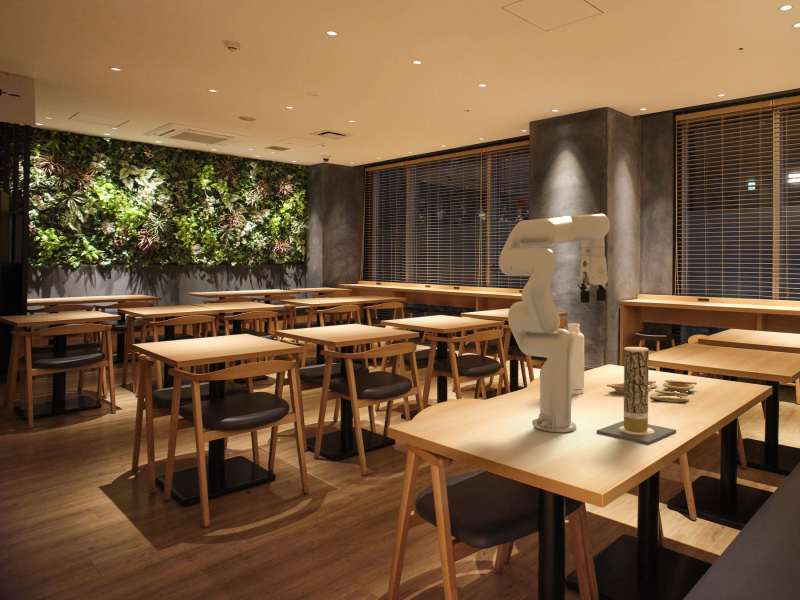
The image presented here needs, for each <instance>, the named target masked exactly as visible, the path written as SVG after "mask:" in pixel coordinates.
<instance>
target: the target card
mask: <svg viewBox="0 0 800 600" xmlns="http://www.w3.org/2000/svg"><path fill="white" fill-rule="evenodd" d="M599 433H600V434H601V435H605V436H608V437H612V436H613V438H617V439H621V438H622V440H627V441H630V440H631V442H634V441H635V442H636V443H640V444H644V445H651V444H653V443H655V442H657V441H658V442H659V440H663V439H664V438H667V437H669V436H671V435H673V434H676V433H677V429H674V428H668V427H666V426H665V427H664V426H660V425H653V424H649V423H648V429H647V431H645V432H632V431H628V430H626V429H625V428H624V420H621V421H619V422H616V423H613V424H611V425H608V426H605V427H602V428H599V429H597V430H596V434H599ZM600 434H599V435H600Z"/></svg>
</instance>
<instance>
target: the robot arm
mask: <svg viewBox="0 0 800 600" xmlns="http://www.w3.org/2000/svg"><path fill="white" fill-rule="evenodd" d="M610 228H611V222H610V219H609V217H608V216H607V215H606V214H604V213H594V214H593V213H592V214H583V215H582V214H581V215H580V214H579V215H563V216H556V217H549V218H548V217H547V218H538V219H527V220H526V219H525V220H521V221H519V222H517V224H515V226H514V227H513V228H512V230H511V232H510V234H509V236H508V238H507V240H506V242H505V243H504V246H503V248H502V250H501V252H500V254H499V258H498V259H499V260H498V266H499V269H500V271H501V272H502V274H504V275H506V276H509V277H521V276H522V277H524V276H526V277H529V276H530V277H529V278H528V280H527V283H526V284H525V285H524V287H523V289H522V291H521V301H516V302H513V304H511V306H510V307H509V309H508V313H507V322H508V326H509V328H510V331H511V333H512V335H513V337H514V339H515V341H516V343H517V345H518V348H519V349H520V351H521V353H523V354H525V355H526V356H531V357H539V358H540V357H541V358H547V359H546V361H545V362H544V363H543V365H542V366H541V367H540V371H539V413H538V418H536V419H533V420H532V421H531V424H532V426H534V427H535V428H536V429H538V430H540V429H541V431H543V430H544V432H549V433H570V432H572V431H573V432H574V431H576V429H577V424H576V423H575V422H573V421H572V394H571V365H572V356H573V351H574V345H575V340H574V336H573V335H572V333H571V332H569V331H568V329H565V328H560V325H561V317H560V314H559V311H558V308H557V306H556V303H555V301H554V299H553V295H552V293H551V283H552V278H553V275H554V271H555V267H556V257H555V256H556V255H555V253H554V251H553V250H552V249H551V248H548V247H551V246H556V245H561V244H568V243H575V242H580V241H581V259H580V260H581V262H580V271H579V272H580V274H579V276H578V277H577V279H576V281H577V284H578V285H577V286H578V288H579V291H580V303H588V304H589V303H590V302H591V301H590V299H591V297H590V295H591V293H590V287H591V285H592V286H596V288H597V289H596V301H598V302H606V300H607V299H606V298H607V297H606V295H607V294H606V293H607V292H606V290H607V286H608V281H609V276H608V268H607V265H608V264H607V259H606V256H605V252H606V251H605V246H606V244H605V241H606V240H605V236H606V235H607V234H608V233H609V232H610Z"/></svg>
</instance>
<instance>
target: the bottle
mask: <svg viewBox="0 0 800 600" xmlns="http://www.w3.org/2000/svg"><path fill="white" fill-rule="evenodd" d="M580 326H581V323H576V322H573V323H567V328H568V329H567V330H568V331H569V332H571V333H572V335H573V336H574V340H575V345H574V351H573V356H572V365H571V395H582V394H581V393H583V394H584V393H585V335H584V334H583V333H582V332H581V330H580Z"/></svg>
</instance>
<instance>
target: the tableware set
mask: <svg viewBox="0 0 800 600" xmlns="http://www.w3.org/2000/svg"><path fill="white" fill-rule="evenodd" d="M648 385H650V386H648V390H652V389H655V393H651V394H650V395H649V396H650V398H651V399H652V400H657V401H661V402H666V401H667V402H668V403H686V402H689V401H690V398H689V394H688V393H676V392H671V391H677V392H686V391H688V392H689V391H690V390H692V389H694V388H695V385H698V382H695V381H682V380H680V381H679V380H675V379H674V380H672V379H665V380H664V382H663V383H662V386H663V387H664V388H667V389H668V391H667V390H660V389H656V388H658V385H657V384H656V381H655V380H648ZM606 387H608V388H612V389H613V390H615V392H616V393H617V394H618V395H623V396H624V382H623V383H612V384H610V383H609V384H607V383H606ZM669 390H670V391H669ZM660 396H677V397H680V398H671V397H660ZM688 400H689V401H688ZM685 401H686V402H685ZM667 402H666V403H667Z"/></svg>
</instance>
